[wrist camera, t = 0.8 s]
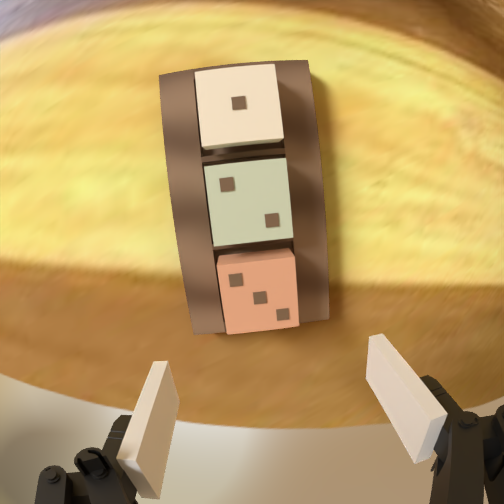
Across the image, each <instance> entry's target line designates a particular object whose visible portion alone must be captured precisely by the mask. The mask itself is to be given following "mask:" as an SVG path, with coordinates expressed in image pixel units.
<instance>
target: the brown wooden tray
mask: <svg viewBox="0 0 504 504" xmlns="http://www.w3.org/2000/svg"><path fill="white" fill-rule="evenodd" d="M264 64H275V71H276V78H277V86H278V93H279V101H280V109H281V118H282V126H283V135H284V138H283V139H282V140H281V141H280V142H275V143H263V144H252V145H243V146H234V147H225V148H217V149H209V150H205V149H204V148H203V147H202V143H201V133H200V124H199V113H198V103H197V92H196V81H195V72H198V71H204V70H212V69H220V68H228V67H238V66H250V65H264ZM159 85H160V99H161V112H162V124H163V135H164V145H165V155H166V164H167V172H168V181H169V189H170V197H171V204H172V211H173V218H174V225H175V232H176V239H177V245H178V251H179V257H180V263H181V269H182V275H183V281H184V286H185V292H186V297H187V302H188V308H189V313H190V318H191V323H192V328H193V333H194V335H199V334H211V333H222V332H227V331H226V324H225V318H224V311H223V305H222V298H221V292H220V285H219V278H218V271H217V262H218V258H219V256H221V255H230V254H239V253H248V252H257V251H265V250H274V249H283V248H289V249H290V250H291V252H292V253H293V255H294V256H295V267H296V282H297V298H298V315H299V323H306V322H313V321H319V320H326V319H329V279H328V253H327V234H326V217H325V203H324V190H323V178H322V167H321V157H320V147H319V138H318V129H317V121H316V113H315V105H314V98H313V91H312V84H311V77H310V71H309V64H308V60H286V61H264V62H250V63H238V64H228V65H220V66H212V67H204V68H197V69H191V70H185V71H179V72H174V73H168V74H163V75H159ZM279 158H286V163H287V173H288V183H289V193H290V204H291V216H292V227H293V238H285V239H276V240H267V241H258V242H249V243H241V244H232V245H223V246H214V242H213V235H212V227H211V220H210V212H209V204H208V196H207V187H206V179H205V170H204V167H205V166H213V165H221V164H229V163H238V162H247V161H257V160H268V159H279Z"/></svg>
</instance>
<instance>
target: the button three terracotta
mask: <svg viewBox="0 0 504 504" xmlns="http://www.w3.org/2000/svg"><path fill="white" fill-rule="evenodd" d="M217 271H218V278H219V285H220V292H221V298H222V305H223V311H224V318H225V324H226V331H227V335H228V334H238V333H248V332H256V331H265V330H273V329H281V328H289V327H296V326H299V315H298V298H297V282H296V267H295V256H294V255H293V253H292V252H291V250H290V249H289V248H283V249H274V250H265V251H257V252H248V253H239V254H230V255H221V256H219V258H218V262H217Z"/></svg>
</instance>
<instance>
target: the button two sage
mask: <svg viewBox="0 0 504 504" xmlns="http://www.w3.org/2000/svg"><path fill="white" fill-rule="evenodd" d="M204 170H205V179H206V187H207V196H208V204H209V212H210V220H211V227H212V235H213V242H214V246H223V245H232V244H241V243H249V242H258V241H267V240H276V239H285V238H293V227H292V216H291V204H290V193H289V183H288V173H287V163H286V158H279V159H268V160H257V161H247V162H238V163H229V164H221V165H213V166H205V167H204Z"/></svg>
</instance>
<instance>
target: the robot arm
mask: <svg viewBox="0 0 504 504" xmlns="http://www.w3.org/2000/svg"><path fill="white" fill-rule="evenodd" d="M366 380H367V381H368V383H369V385H370V387H371V388H372V390H373V392H374V393H375V395H376V397H377V399H378V400H379V402H380V404H381V405H382V407H383V409H384V411H385V412H386V414H387V416H388V418H389V419H390V421H391V423H392V425H393V426H394V428H395V430H396V432H397V434H398V435H399V437H400V439H401V441H402V442H403V444H404V446H405V448H406V449H407V451H408V453H409V455H410V457H411V459H412V460H413V462H414V464H416V463H418V462H421V461H424V460H426V459H429V458H430V457H431V455H432V452H433V450H435V452H436V454H437V455H438V456H437V458H436V460H435V462H434V464H433V466H432V469H431V471H433V470H434V477H433V484H432V491H431V497H430V503H429V504H483V497H484V486H485V490H486V494H487V498H488V502H489V504H504V405H502V406H500V407H499V408H498V409H497V411H496V413H495V415H491V416H486V417H479V416H478V415H477V414H475V413H473V412H468V411H463V410H462V409H461V408H460V407H459V406H458V404H457V403H456V402H455V401H454V400H453V398H452V397H451V396H450V395H449V394H448V393H447V391H446V390H445V389H444V388H442V386H441V384H440V383H439V382H438V381H437V380H436V379H434V378H432V377H430V376H429V375H427V376H423V377H420V378H419V377H418V376H417V374H416V373H415V372H414V371H413V370H412V368H411V367H410V366H409V365H408V363H407V362H406V361H405V360H404V359H403V357H402V356H401V355H400V354H399V353H398V351H397V350H396V349H395V348H394V347H393V345H392V344H391V343H390V342H389V341H388V340H387V338H386V337H385V336H384V335H383V334H379V335H374V336H369V347H368V360H367V370H366ZM179 403H180V400H179V397H178V394H177V391H176V387H175V384H174V381H173V377H172V374H171V370H170V367H169V363H168V361H155V362H153V365H152V367H151V369H150V372H149V374H148V377H147V379H146V382H145V384H144V387H143V389H142V392H141V394H140V397H139V399H138V402H137V404H136V407H135V410H134V412H133V415H121V416H120V417H119V418H118V419H117V420H116V421H115V422H114V423H113V426H112V428H111V432H110V433H109V435H108V438H107V440H106V442H105V444H104V447H103V449H102V450H100V449H99V448H94V447H92V448H86V449H83V450H81V451H80V452H79V453H78V454H77V455H76V457H75V459H74V464H75V465H76V467H77V468H78V469H79V471H80V472H75V473H66V472H65V471H64V469H63V468H61V467H60V466H55V465H54V466H49V467H47V468H45V469H44V470H43V471H42V472H41V473H40V476H39V480H38V486H37V492H36V499H35V504H138V502H137V501H136V499H135V496H136V493H137V491H138V493H139V495H140V496H141V497H142V498H150V499H160V493H161V488H162V483H163V478H164V473H165V468H166V463H167V458H168V454H169V449H170V444H171V439H172V435H173V430H174V426H175V421H176V417H177V412H178V408H179ZM434 468H435V469H434Z"/></svg>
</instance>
